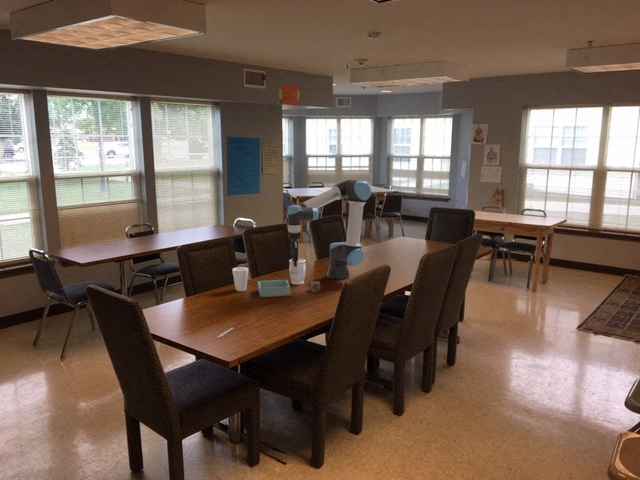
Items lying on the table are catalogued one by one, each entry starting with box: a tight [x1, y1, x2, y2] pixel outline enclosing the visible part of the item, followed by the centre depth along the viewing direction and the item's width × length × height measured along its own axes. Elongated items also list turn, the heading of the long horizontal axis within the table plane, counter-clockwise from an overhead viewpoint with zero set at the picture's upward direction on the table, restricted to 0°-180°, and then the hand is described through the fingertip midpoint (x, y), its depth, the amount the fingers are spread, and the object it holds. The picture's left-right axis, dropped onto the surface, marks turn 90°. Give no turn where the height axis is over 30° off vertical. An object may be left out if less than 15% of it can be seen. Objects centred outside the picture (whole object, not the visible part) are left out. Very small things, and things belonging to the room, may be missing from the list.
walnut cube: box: [310, 281, 321, 293], centre depth 306 cm, size 5×5×5 cm
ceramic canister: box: [289, 261, 298, 275], centre depth 302 cm, size 5×5×7 cm
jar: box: [288, 258, 307, 285], centre depth 322 cm, size 11×10×15 cm
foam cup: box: [232, 266, 249, 292], centre depth 308 cm, size 10×9×13 cm
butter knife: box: [216, 327, 234, 338], centre depth 246 cm, size 1×27×3 cm
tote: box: [257, 279, 291, 298], centre depth 302 cm, size 18×16×6 cm
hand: (294, 270), depth 302 cm, fingers closed on ceramic canister, 5 cm apart
